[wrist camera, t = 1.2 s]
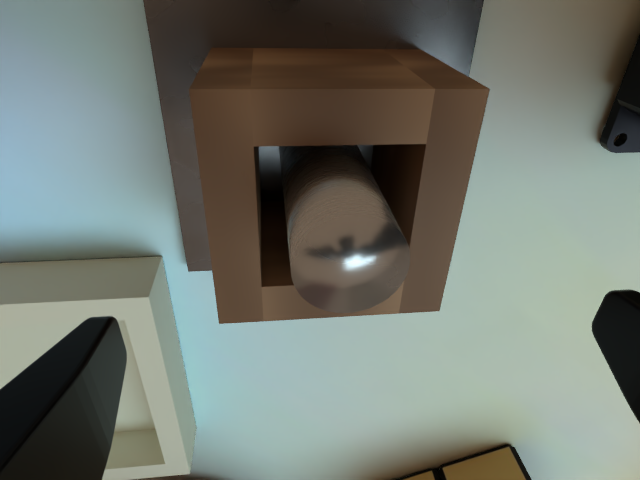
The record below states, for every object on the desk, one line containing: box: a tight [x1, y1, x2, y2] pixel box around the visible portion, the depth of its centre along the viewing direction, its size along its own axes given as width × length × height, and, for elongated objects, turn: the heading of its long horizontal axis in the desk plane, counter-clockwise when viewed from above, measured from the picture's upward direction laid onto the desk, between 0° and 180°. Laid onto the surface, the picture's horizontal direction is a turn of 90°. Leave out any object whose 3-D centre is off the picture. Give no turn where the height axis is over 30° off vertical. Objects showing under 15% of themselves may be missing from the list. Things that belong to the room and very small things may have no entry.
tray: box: [0, 256, 196, 480], centre depth 19 cm, size 11×11×2 cm
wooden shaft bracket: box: [189, 48, 490, 324], centre depth 13 cm, size 6×6×5 cm
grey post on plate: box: [143, 0, 484, 313], centre depth 13 cm, size 10×10×7 cm
